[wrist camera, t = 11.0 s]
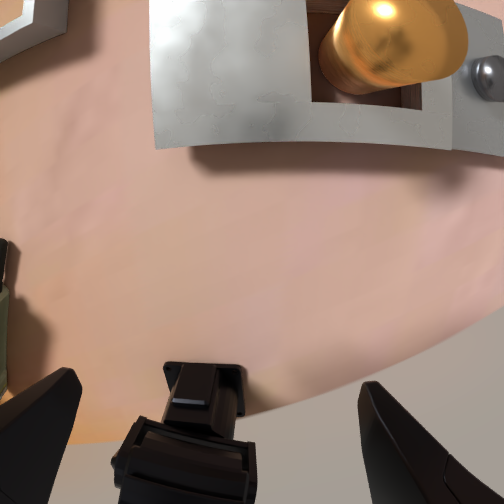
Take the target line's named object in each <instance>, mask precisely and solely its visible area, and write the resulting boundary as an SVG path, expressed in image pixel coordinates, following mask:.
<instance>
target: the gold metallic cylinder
mask: <svg viewBox="0 0 504 504" xmlns="http://www.w3.org/2000/svg"><path fill="white" fill-rule="evenodd" d="M468 42H469V41H468V32H467V27H466V24H465V21H464V18H463V16H462V14H461V12H460V10H459V8H458V7H457V5H456V4H455V2H454V1H453V0H350V1H349V3H348V4H347V6H346V7H345V9H344V10H343V11H342V13H341V14H340V16H339V17H338V19H337V20H336V21H335V23H334V24H333V26H332V27H331V29H330V30H329V32H328V33H327V35H326V36H325V38H324V39H323V41H322V42H321V44H320V47H319V52H318V60H319V65H320V68H321V70H322V72H323V74H324V76H325V77H326V78H327V80H328V81H329V82H330V83H331V84H332V85H334V86H335V87H336V88H338V89H340V90H342V91H344V92H346V93H350V94H358V95H361V94H367V93H372V92H376V91H381V90H385V89H390V88H395V87H400V86H405V85H410V84H416V83H422V82H427V81H434V80H439V79H443V78H446V77H449V76H450V75H452V74H454V73H455V72H456V71H457V70H458V69H459V68H460V67H461V66H462V64H463V62H464V60H465V58H466V55H467V51H468Z"/></svg>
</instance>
